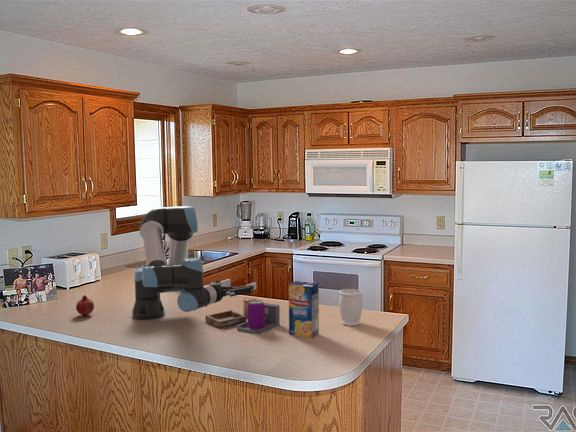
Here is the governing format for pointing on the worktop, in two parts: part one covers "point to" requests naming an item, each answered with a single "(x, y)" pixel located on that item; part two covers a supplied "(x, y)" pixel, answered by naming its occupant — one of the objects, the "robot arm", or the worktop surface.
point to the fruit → (85, 306)
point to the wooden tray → (225, 319)
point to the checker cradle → (270, 319)
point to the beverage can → (256, 314)
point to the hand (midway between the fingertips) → (242, 283)
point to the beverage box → (304, 309)
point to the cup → (245, 304)
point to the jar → (350, 306)
